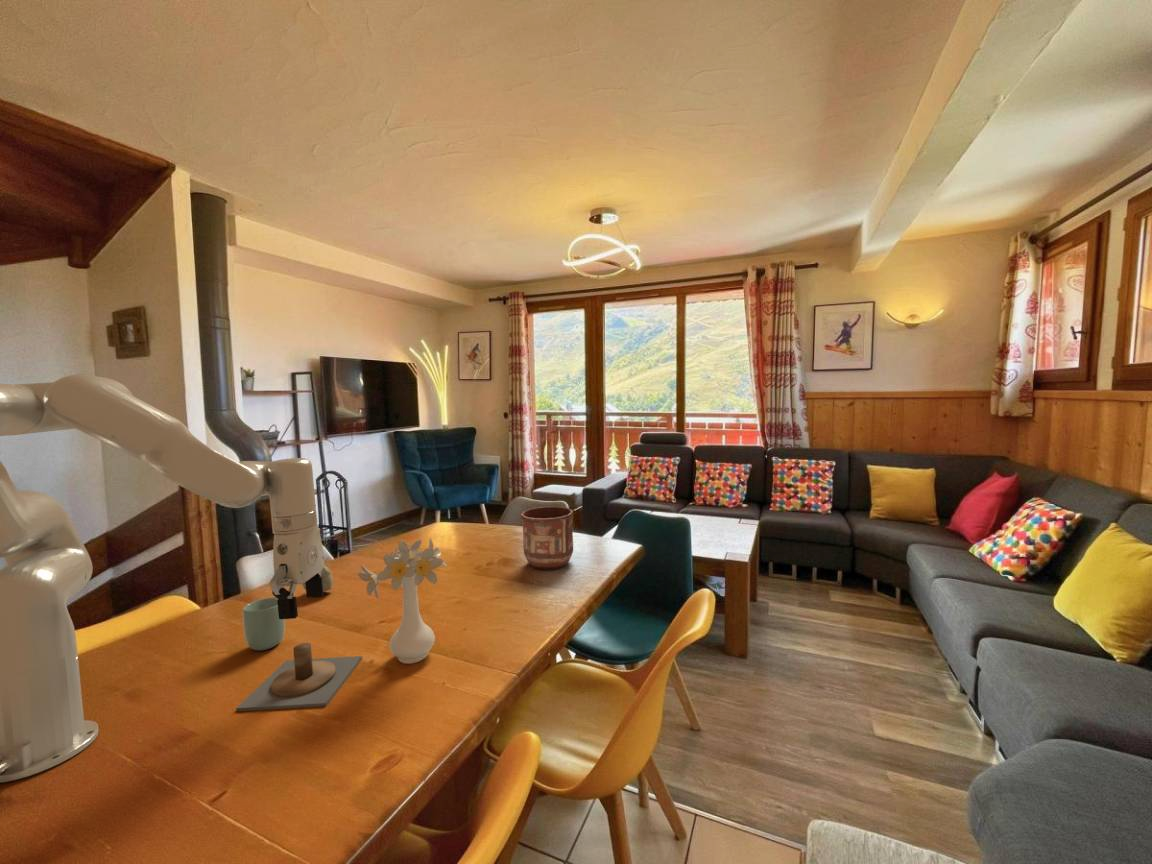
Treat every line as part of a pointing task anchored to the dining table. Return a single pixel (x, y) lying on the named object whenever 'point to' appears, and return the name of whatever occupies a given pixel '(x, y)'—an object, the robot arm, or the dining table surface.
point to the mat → (317, 698)
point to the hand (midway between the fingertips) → (302, 606)
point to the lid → (303, 674)
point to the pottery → (548, 536)
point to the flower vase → (408, 597)
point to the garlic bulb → (325, 579)
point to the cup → (263, 624)
